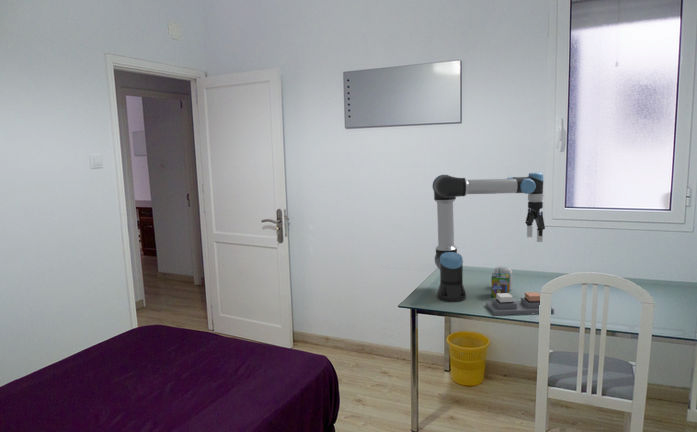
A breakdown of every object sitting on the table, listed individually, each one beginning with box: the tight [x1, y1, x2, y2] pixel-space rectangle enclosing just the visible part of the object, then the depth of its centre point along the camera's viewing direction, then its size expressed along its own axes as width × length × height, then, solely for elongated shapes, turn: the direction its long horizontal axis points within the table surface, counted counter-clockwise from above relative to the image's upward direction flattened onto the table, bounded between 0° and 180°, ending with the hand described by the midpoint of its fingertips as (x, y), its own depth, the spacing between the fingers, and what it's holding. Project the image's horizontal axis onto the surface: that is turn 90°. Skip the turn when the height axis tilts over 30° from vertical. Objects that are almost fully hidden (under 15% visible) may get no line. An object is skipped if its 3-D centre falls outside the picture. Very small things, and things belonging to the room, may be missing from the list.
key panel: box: [485, 296, 555, 316], centre depth 226 cm, size 28×14×4 cm, turn 90°
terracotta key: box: [524, 291, 541, 301], centre depth 225 cm, size 6×6×2 cm
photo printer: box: [493, 266, 514, 291], centre depth 260 cm, size 10×4×12 cm, turn 39°
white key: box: [496, 293, 514, 302], centre depth 225 cm, size 6×6×2 cm
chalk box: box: [490, 269, 511, 299], centre depth 246 cm, size 9×9×15 cm
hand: (534, 239), depth 256 cm, fingers open, 13 cm apart
